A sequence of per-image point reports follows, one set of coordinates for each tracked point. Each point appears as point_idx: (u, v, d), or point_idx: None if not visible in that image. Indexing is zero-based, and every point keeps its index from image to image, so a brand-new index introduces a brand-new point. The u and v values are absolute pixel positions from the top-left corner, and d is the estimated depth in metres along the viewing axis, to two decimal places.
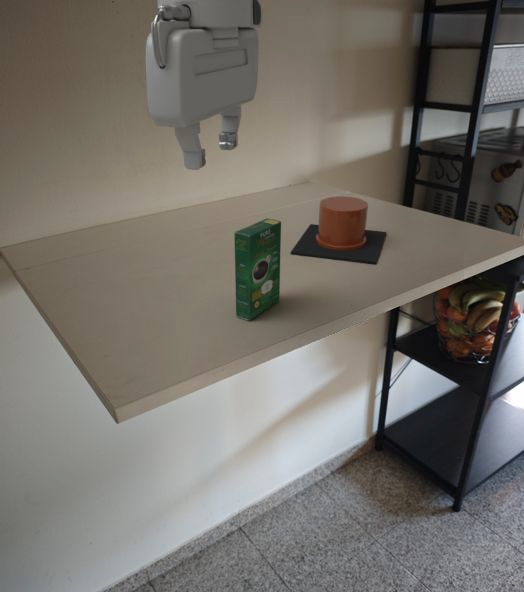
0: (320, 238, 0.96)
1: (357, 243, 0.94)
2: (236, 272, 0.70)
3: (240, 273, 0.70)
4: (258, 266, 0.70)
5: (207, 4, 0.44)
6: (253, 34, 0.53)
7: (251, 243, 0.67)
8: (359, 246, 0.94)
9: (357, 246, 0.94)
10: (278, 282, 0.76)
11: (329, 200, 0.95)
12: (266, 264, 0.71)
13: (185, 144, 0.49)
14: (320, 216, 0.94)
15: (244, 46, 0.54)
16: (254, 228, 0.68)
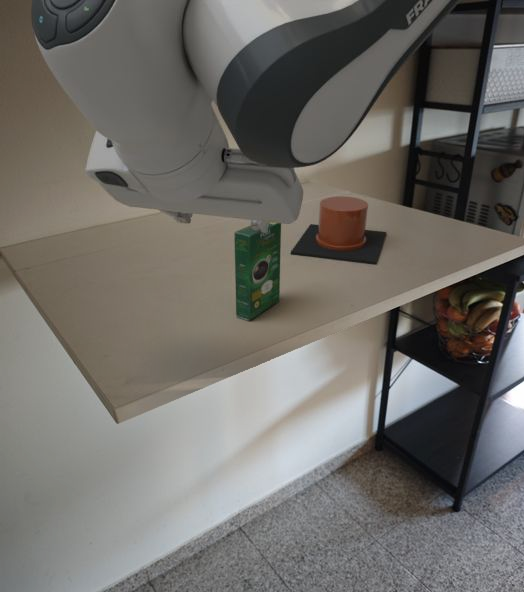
0: (320, 238, 0.96)
1: (357, 243, 0.94)
2: (236, 272, 0.70)
3: (240, 273, 0.70)
4: (258, 266, 0.70)
5: (222, 130, 0.43)
6: None
7: (251, 243, 0.67)
8: (359, 246, 0.94)
9: (357, 246, 0.94)
10: (278, 282, 0.76)
11: (329, 200, 0.95)
12: (266, 264, 0.71)
13: None
14: (320, 216, 0.94)
15: None
16: None
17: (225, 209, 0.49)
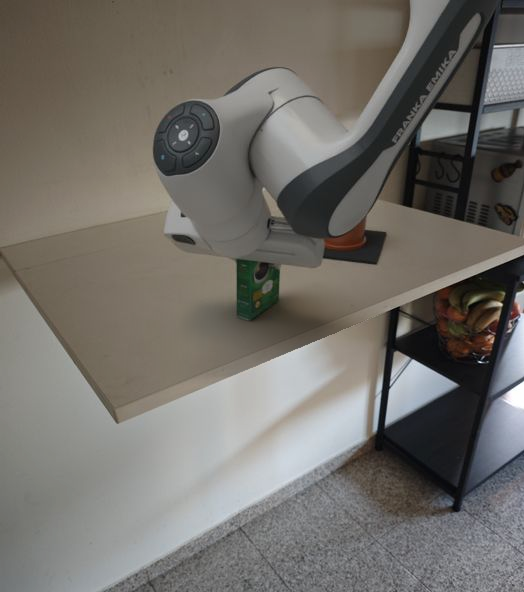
0: None
1: (357, 243, 0.94)
2: (237, 272, 0.70)
3: (241, 273, 0.70)
4: (259, 266, 0.70)
5: (267, 205, 0.59)
6: None
7: None
8: (359, 246, 0.94)
9: (357, 246, 0.94)
10: (278, 282, 0.76)
11: None
12: (267, 264, 0.71)
13: None
14: None
15: None
16: None
17: (265, 257, 0.65)
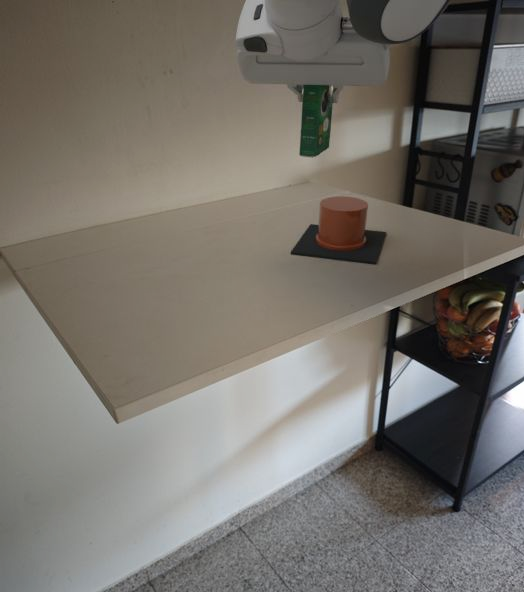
0: (320, 238, 0.96)
1: (357, 243, 0.94)
2: (304, 103, 0.71)
3: (308, 103, 0.70)
4: (324, 96, 0.71)
5: None
6: None
7: None
8: (359, 246, 0.94)
9: (357, 246, 0.94)
10: (330, 125, 0.78)
11: (329, 200, 0.95)
12: None
13: None
14: (320, 216, 0.94)
15: None
16: None
17: (331, 75, 0.66)
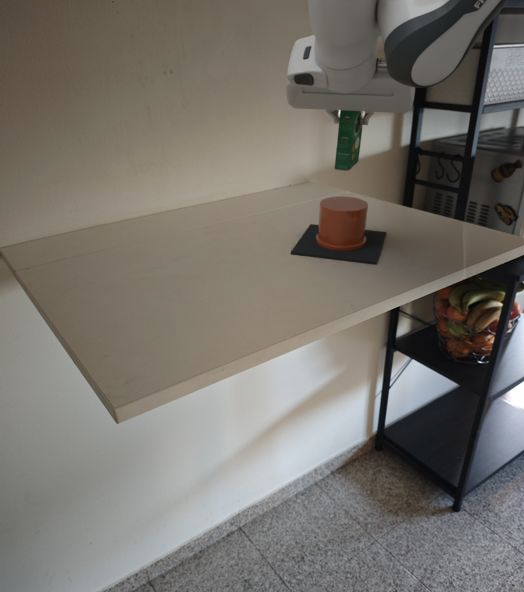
0: (320, 238, 0.96)
1: (357, 243, 0.94)
2: (340, 125, 0.83)
3: (344, 125, 0.83)
4: (357, 119, 0.84)
5: None
6: None
7: None
8: (359, 246, 0.94)
9: (357, 246, 0.94)
10: (360, 142, 0.90)
11: (329, 200, 0.95)
12: None
13: None
14: (320, 216, 0.94)
15: None
16: None
17: (365, 103, 0.79)
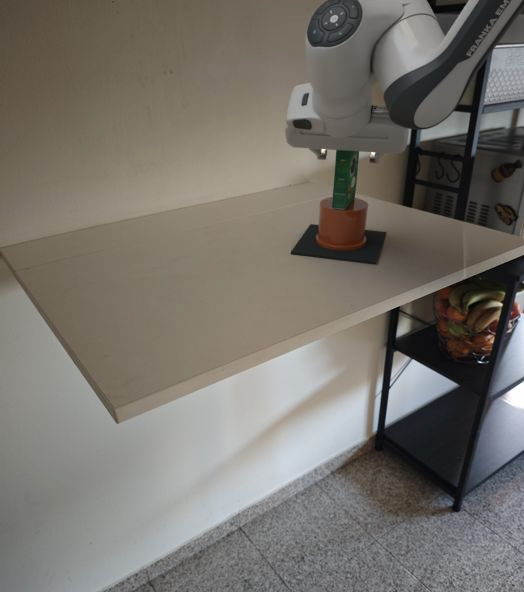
0: (320, 238, 0.96)
1: (357, 243, 0.94)
2: (336, 167, 0.87)
3: (340, 167, 0.87)
4: (352, 161, 0.87)
5: None
6: None
7: None
8: (359, 246, 0.94)
9: (357, 246, 0.94)
10: (356, 180, 0.94)
11: (329, 200, 0.95)
12: (355, 162, 0.89)
13: None
14: (320, 216, 0.94)
15: None
16: None
17: (361, 145, 0.82)
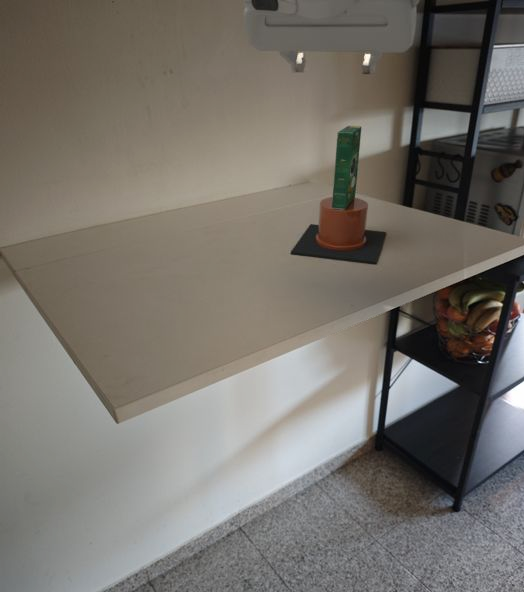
0: (320, 238, 0.96)
1: (357, 243, 0.94)
2: (336, 167, 0.87)
3: (340, 167, 0.87)
4: (352, 161, 0.87)
5: None
6: None
7: (352, 140, 0.84)
8: (359, 246, 0.94)
9: (357, 246, 0.94)
10: (356, 180, 0.94)
11: (329, 200, 0.95)
12: (355, 162, 0.89)
13: None
14: (320, 216, 0.94)
15: None
16: (350, 129, 0.85)
17: (350, 39, 0.59)
